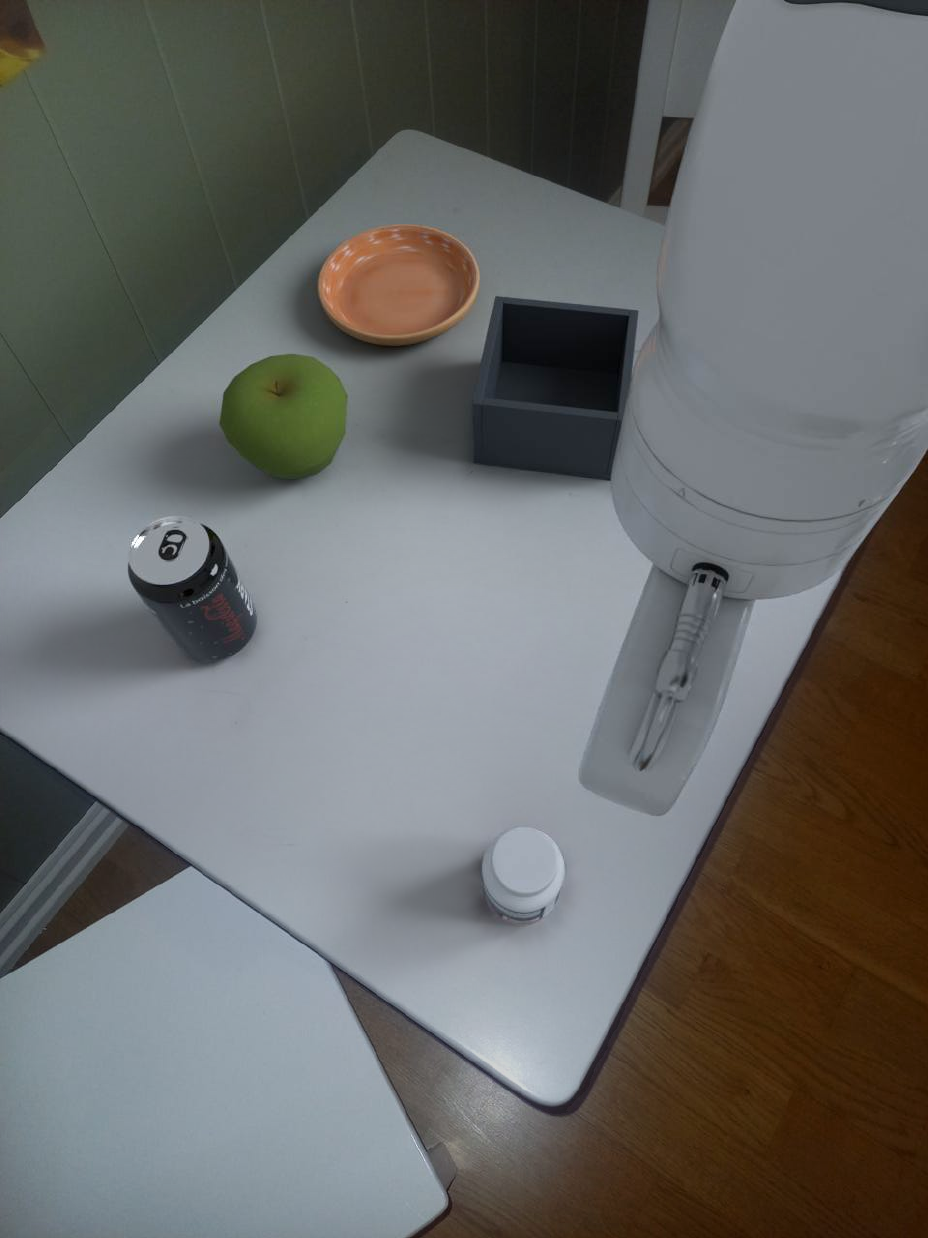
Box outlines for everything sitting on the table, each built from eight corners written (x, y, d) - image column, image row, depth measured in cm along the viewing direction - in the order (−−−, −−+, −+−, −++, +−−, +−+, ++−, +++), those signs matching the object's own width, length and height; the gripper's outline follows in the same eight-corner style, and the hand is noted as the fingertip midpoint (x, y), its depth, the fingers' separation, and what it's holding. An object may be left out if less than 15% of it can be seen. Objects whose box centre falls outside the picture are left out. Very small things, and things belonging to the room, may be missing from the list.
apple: (332, 397, 80) (313, 314, 71) (377, 476, 75) (362, 398, 67) (224, 439, 78) (190, 359, 69) (263, 523, 73) (232, 449, 65)
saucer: (336, 373, 81) (331, 349, 79) (311, 263, 89) (305, 238, 86) (497, 341, 83) (497, 317, 80) (459, 235, 90) (458, 210, 88)
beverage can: (271, 599, 70) (232, 516, 59) (244, 674, 67) (198, 599, 56) (193, 586, 71) (141, 501, 60) (163, 659, 68) (102, 583, 57)
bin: (626, 374, 80) (638, 309, 73) (614, 480, 75) (626, 420, 68) (494, 360, 82) (495, 295, 75) (473, 463, 76) (471, 403, 69)
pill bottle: (519, 832, 60) (524, 797, 52) (574, 886, 58) (587, 858, 51) (466, 886, 59) (463, 858, 51) (521, 943, 57) (526, 923, 49)
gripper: (767, 776, 23) (669, 876, 35) (898, 290, 32) (782, 505, 44) (551, 694, 24) (528, 818, 37) (733, 248, 33) (665, 469, 45)
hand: (668, 644), depth 41 cm, fingers open, 8 cm apart
